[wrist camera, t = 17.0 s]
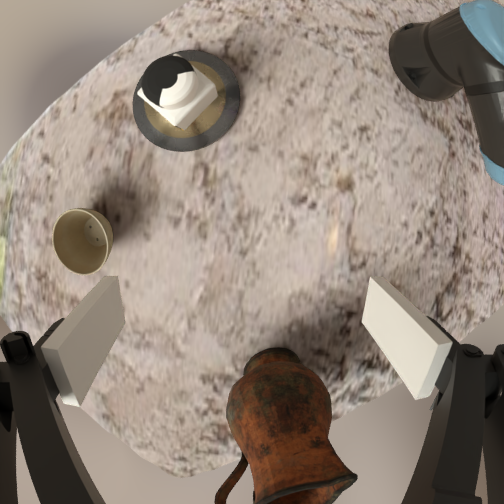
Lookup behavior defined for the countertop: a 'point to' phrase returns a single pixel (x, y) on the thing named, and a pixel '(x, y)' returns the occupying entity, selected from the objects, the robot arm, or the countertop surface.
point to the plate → (207, 123)
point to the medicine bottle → (177, 90)
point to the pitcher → (284, 433)
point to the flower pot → (82, 240)
